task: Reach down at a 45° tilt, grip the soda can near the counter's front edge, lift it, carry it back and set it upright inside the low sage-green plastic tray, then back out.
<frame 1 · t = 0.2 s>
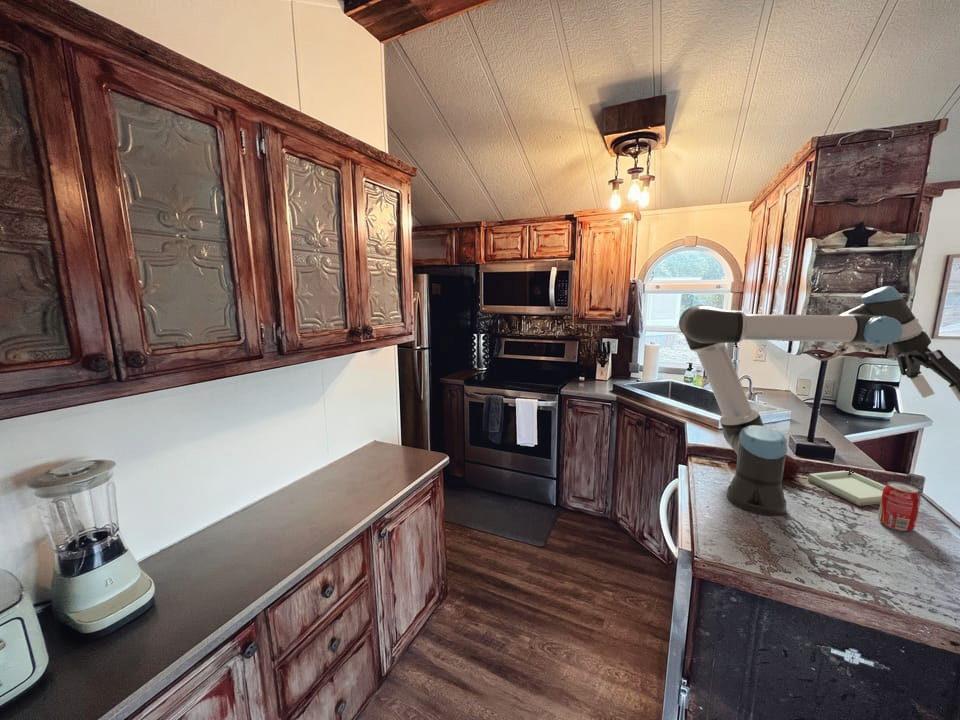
hand: (948, 399, 108), 34 cm above the worktop, tool tilted 30°, fingers open, 13 cm apart
tray: (852, 490, 125), on the worktop
potato: (777, 476, 136), on the worktop
soda can: (895, 526, 107), on the worktop
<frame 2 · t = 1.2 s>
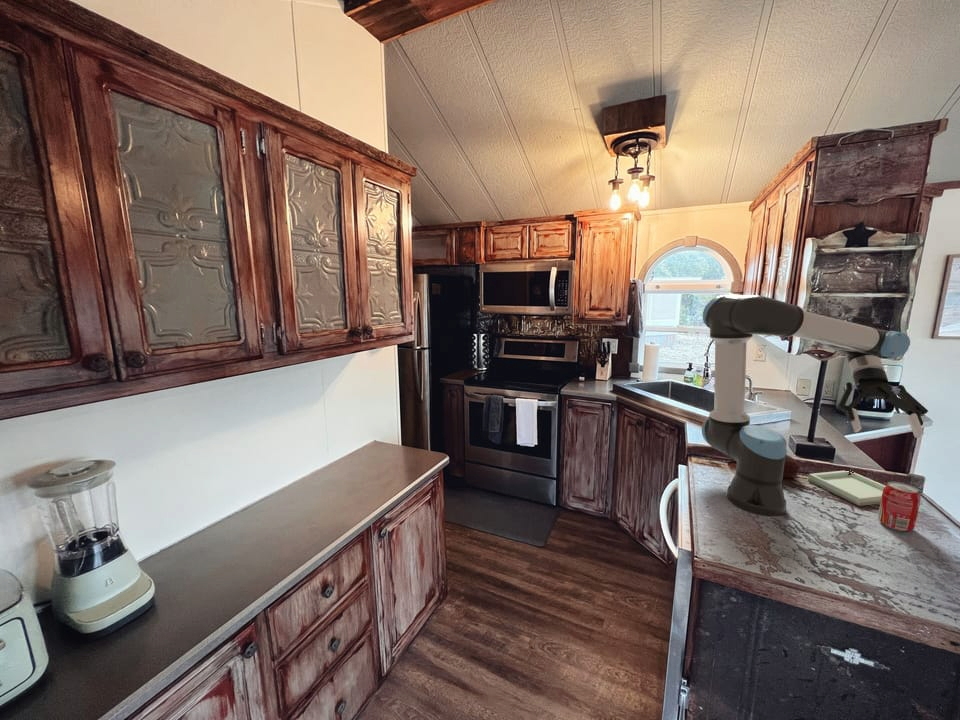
hand: (888, 433, 112), 24 cm above the worktop, tool tilted 45°, fingers open, 13 cm apart
nothing on the worktop moved.
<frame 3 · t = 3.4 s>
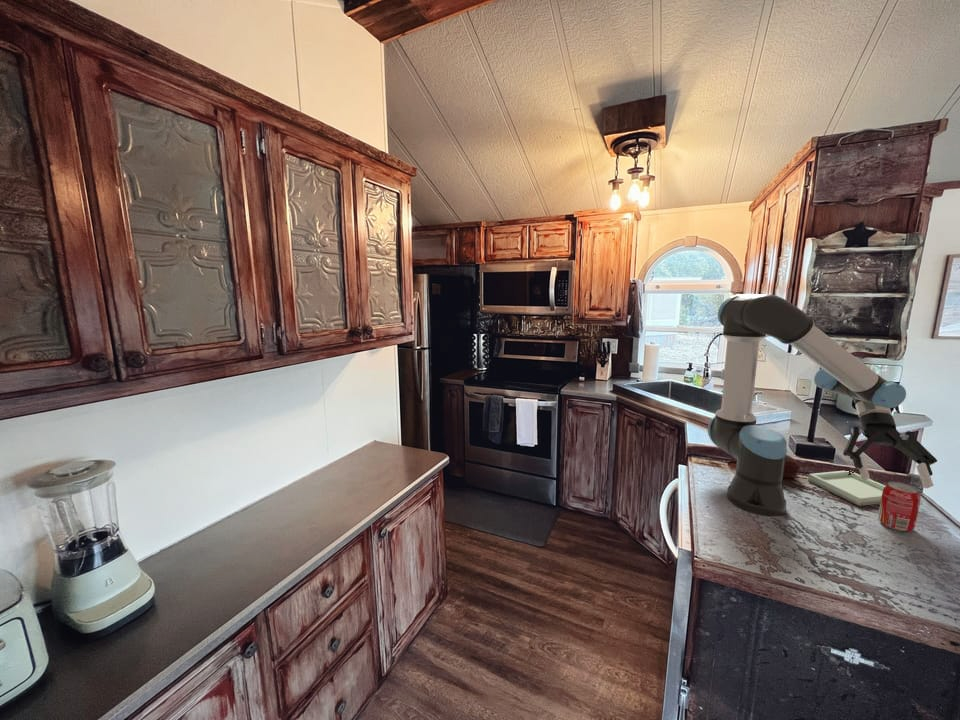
hand: (896, 483, 109), 10 cm above the worktop, tool tilted 45°, fingers open, 13 cm apart
nothing on the worktop moved.
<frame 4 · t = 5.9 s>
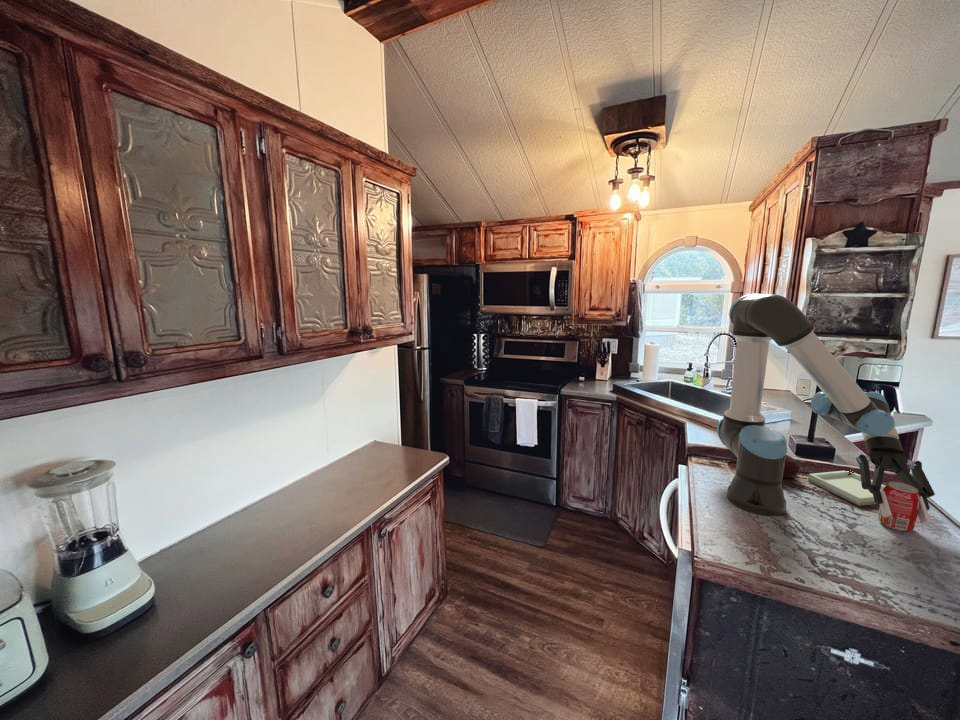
hand: (906, 518, 103), 4 cm above the worktop, tool tilted 45°, fingers closed on soda can, 7 cm apart
soda can: (895, 526, 107), on the worktop, touching gripper
everything else where it was.
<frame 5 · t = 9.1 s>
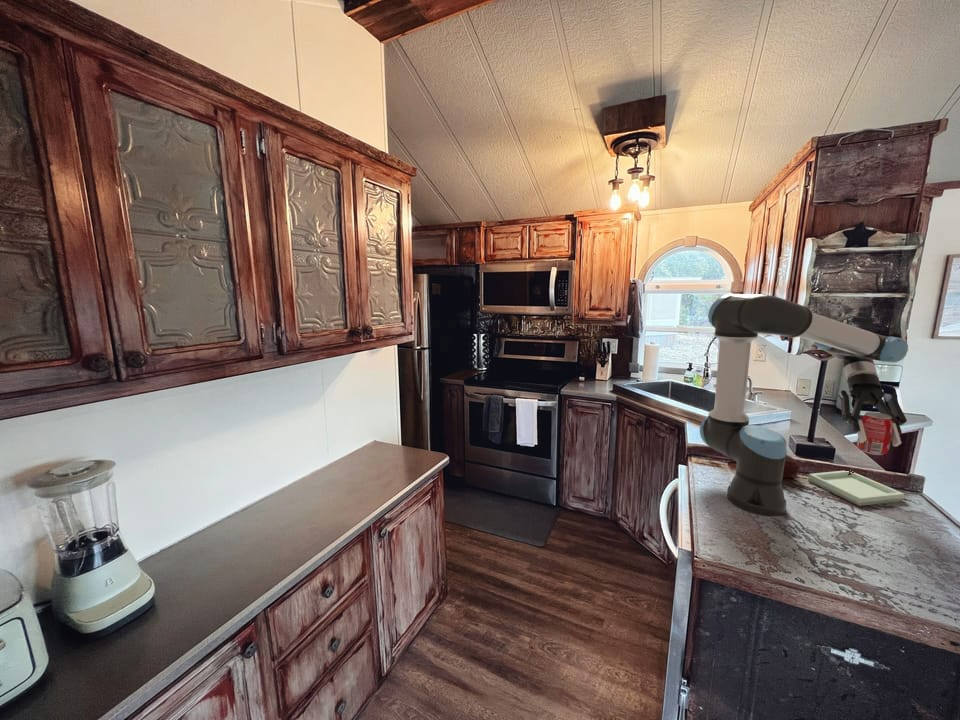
hand: (880, 442, 115), 20 cm above the worktop, tool tilted 45°, fingers closed on soda can, 7 cm apart
soda can: (871, 452, 119), point 15 cm above the worktop, touching gripper
everything else where it was.
when the fingers open (7 cm above the worktop, at t = 12.2 s): soda can drops 1 cm, resting on tray.
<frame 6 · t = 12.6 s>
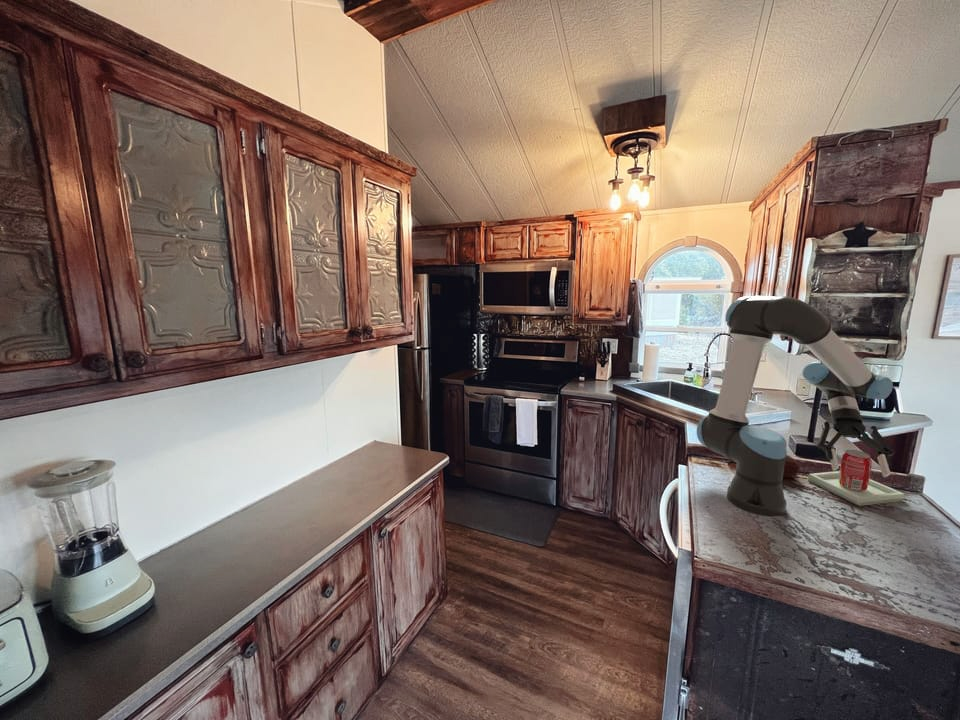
hand: (860, 472, 121), 8 cm above the worktop, tool tilted 45°, fingers open, 12 cm apart
soda can: (852, 487, 125), point 1 cm above the worktop, touching tray
everything else where it was.
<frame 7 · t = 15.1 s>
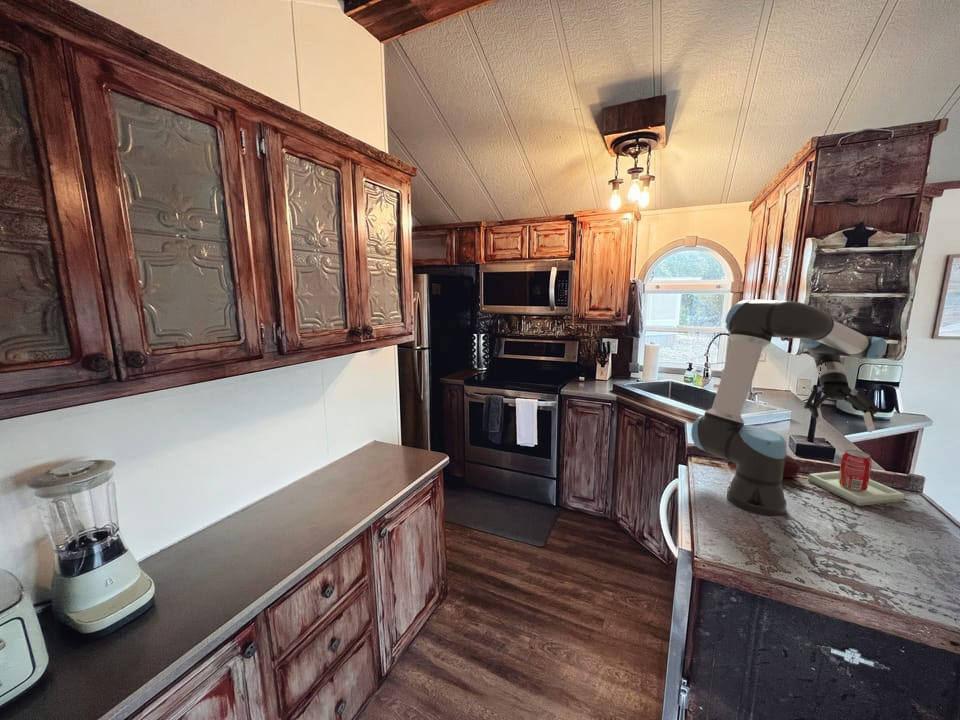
hand: (845, 428, 131), 18 cm above the worktop, tool tilted 45°, fingers open, 13 cm apart
nothing on the worktop moved.
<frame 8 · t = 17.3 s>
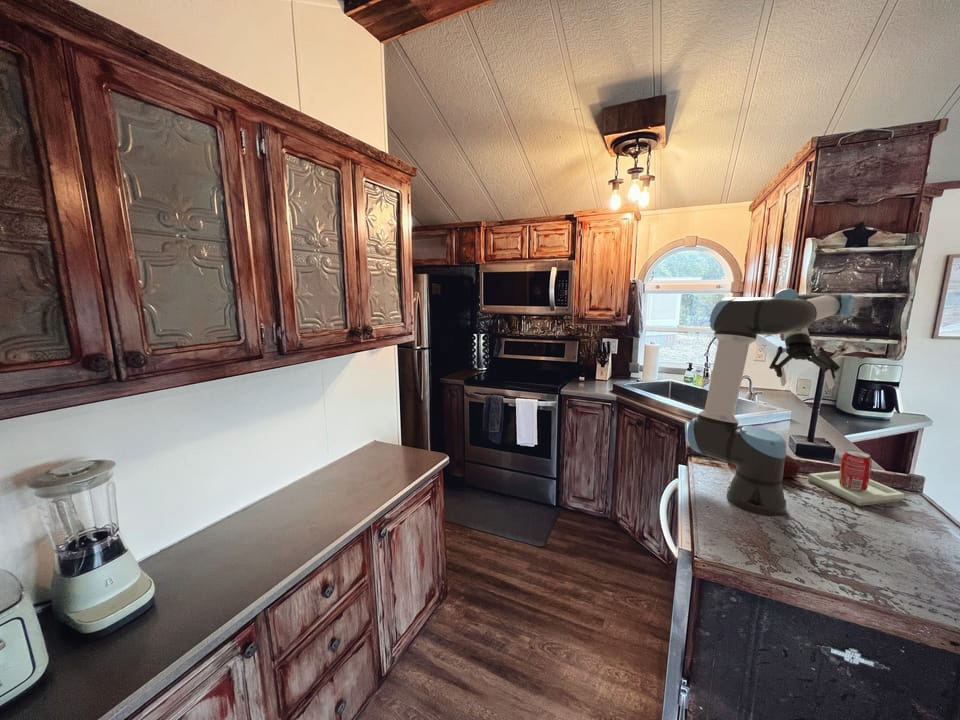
hand: (807, 385, 136), 32 cm above the worktop, tool tilted 45°, fingers open, 13 cm apart
nothing on the worktop moved.
at the end: soda can inside the target area on the tray (0.3 cm from its centre), point 0.8 cm above the tray's base; soda can tilted 0°; the gripper is holding nothing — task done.
